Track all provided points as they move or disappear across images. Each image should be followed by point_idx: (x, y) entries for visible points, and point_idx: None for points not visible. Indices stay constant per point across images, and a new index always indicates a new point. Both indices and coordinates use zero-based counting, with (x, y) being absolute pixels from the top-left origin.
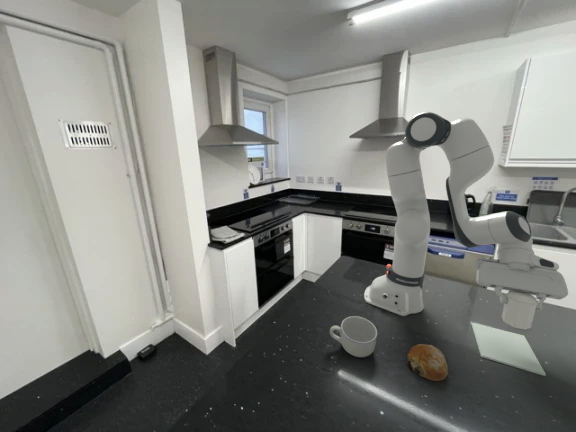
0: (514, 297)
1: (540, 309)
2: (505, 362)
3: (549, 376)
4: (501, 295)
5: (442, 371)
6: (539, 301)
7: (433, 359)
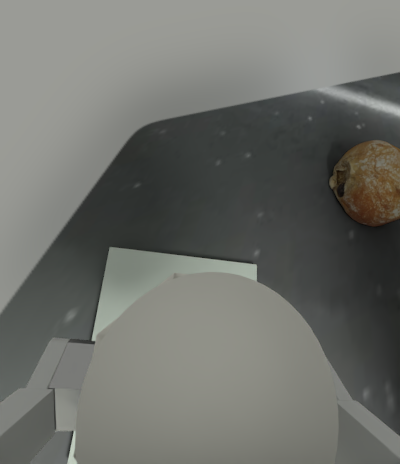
0: (300, 322)
1: (65, 340)
2: (201, 258)
3: (98, 251)
4: (353, 404)
5: (359, 144)
6: (33, 411)
7: (391, 146)
